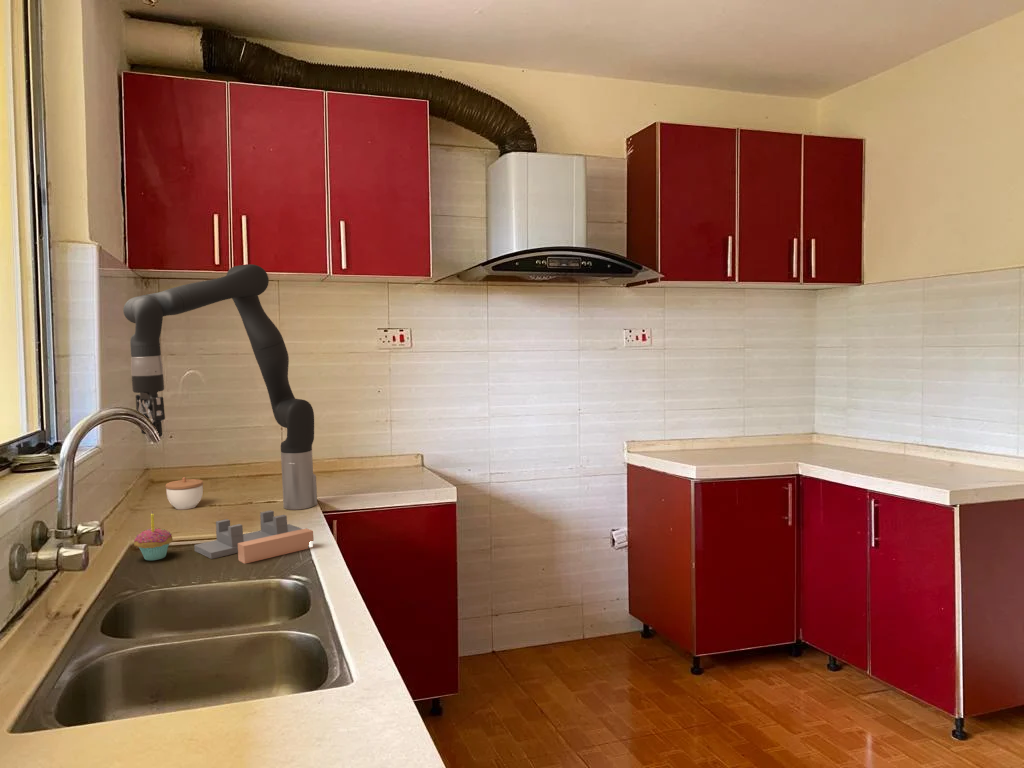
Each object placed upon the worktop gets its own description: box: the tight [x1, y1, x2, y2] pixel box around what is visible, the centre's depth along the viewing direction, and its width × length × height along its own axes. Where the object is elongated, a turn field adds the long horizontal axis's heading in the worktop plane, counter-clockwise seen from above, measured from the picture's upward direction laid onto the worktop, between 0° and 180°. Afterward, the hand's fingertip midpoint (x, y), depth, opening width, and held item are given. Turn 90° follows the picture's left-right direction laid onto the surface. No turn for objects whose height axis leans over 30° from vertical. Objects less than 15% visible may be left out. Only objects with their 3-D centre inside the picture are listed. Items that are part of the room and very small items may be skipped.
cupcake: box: [133, 511, 173, 561], centre depth 190 cm, size 9×8×12 cm
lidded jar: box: [165, 476, 204, 511], centre depth 241 cm, size 11×11×9 cm
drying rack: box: [193, 510, 303, 560], centre depth 200 cm, size 26×10×6 cm, turn 134°
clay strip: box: [237, 527, 315, 564], centre depth 191 cm, size 18×4×4 cm, turn 133°
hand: (151, 435), depth 204 cm, fingers open, 8 cm apart
